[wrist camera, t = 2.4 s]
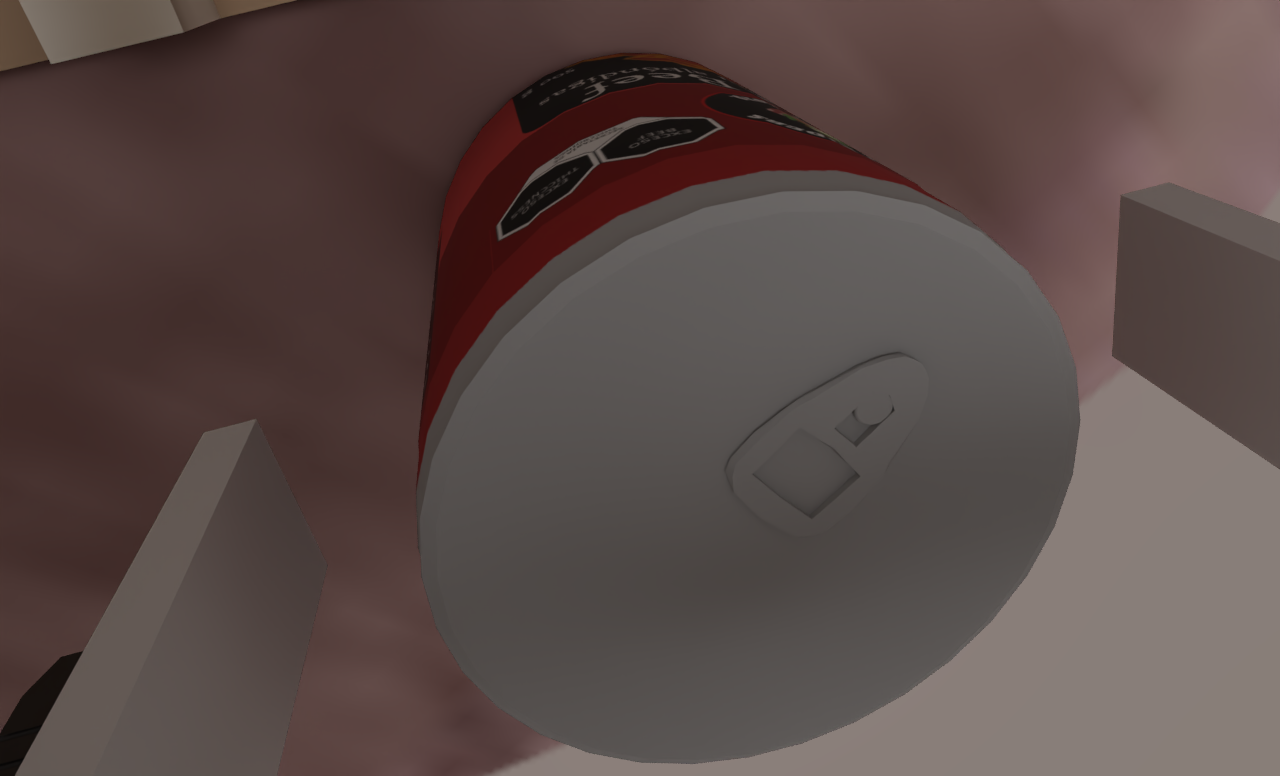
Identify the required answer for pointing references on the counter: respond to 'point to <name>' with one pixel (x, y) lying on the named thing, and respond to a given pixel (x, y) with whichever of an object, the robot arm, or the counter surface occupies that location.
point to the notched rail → (100, 25)
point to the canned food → (720, 420)
